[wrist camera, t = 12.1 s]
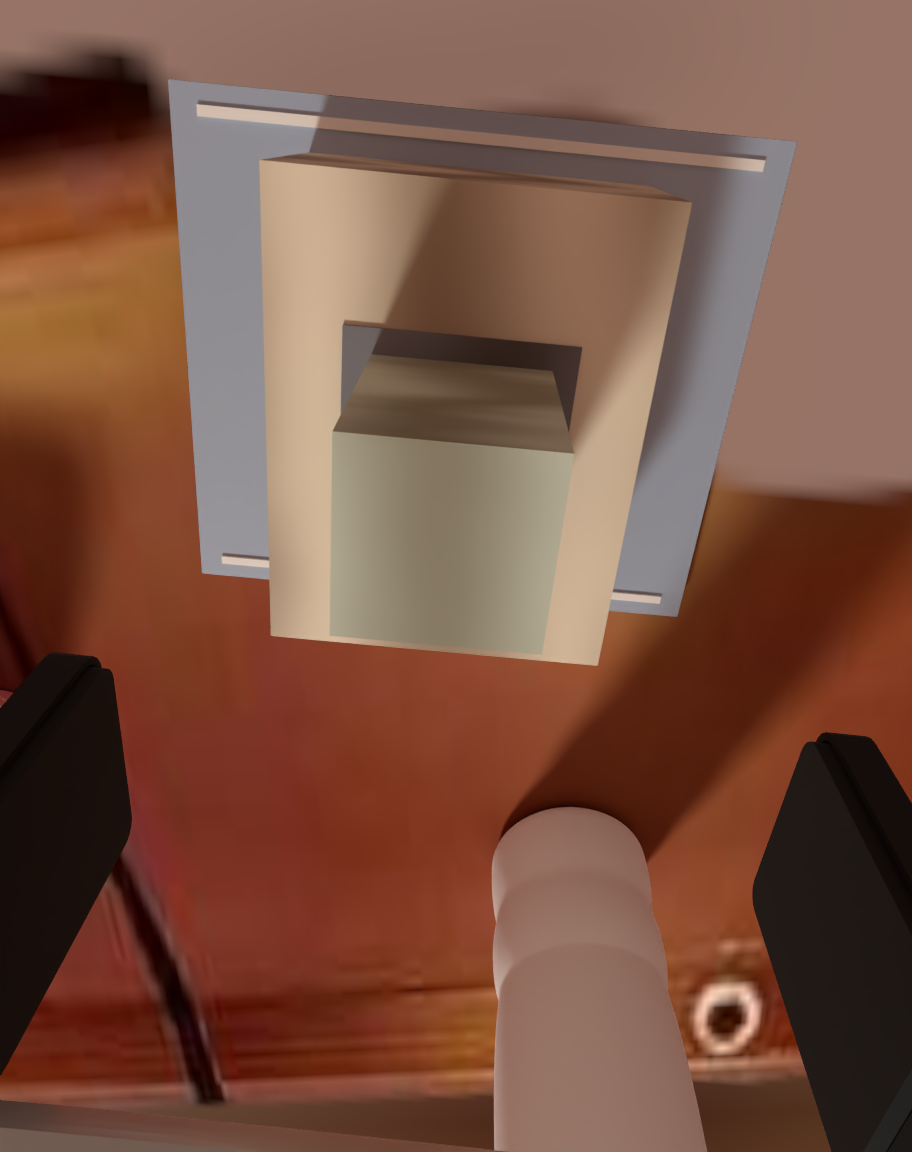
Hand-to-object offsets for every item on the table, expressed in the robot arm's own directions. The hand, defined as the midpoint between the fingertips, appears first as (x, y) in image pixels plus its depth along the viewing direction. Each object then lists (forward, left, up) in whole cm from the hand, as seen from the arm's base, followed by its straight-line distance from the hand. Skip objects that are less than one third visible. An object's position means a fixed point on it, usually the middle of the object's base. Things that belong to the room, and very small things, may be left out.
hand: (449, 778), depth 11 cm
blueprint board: (0, 0, -20) cm, 19 cm away
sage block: (0, 0, -12) cm, 12 cm away
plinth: (0, 0, -19) cm, 18 cm away
